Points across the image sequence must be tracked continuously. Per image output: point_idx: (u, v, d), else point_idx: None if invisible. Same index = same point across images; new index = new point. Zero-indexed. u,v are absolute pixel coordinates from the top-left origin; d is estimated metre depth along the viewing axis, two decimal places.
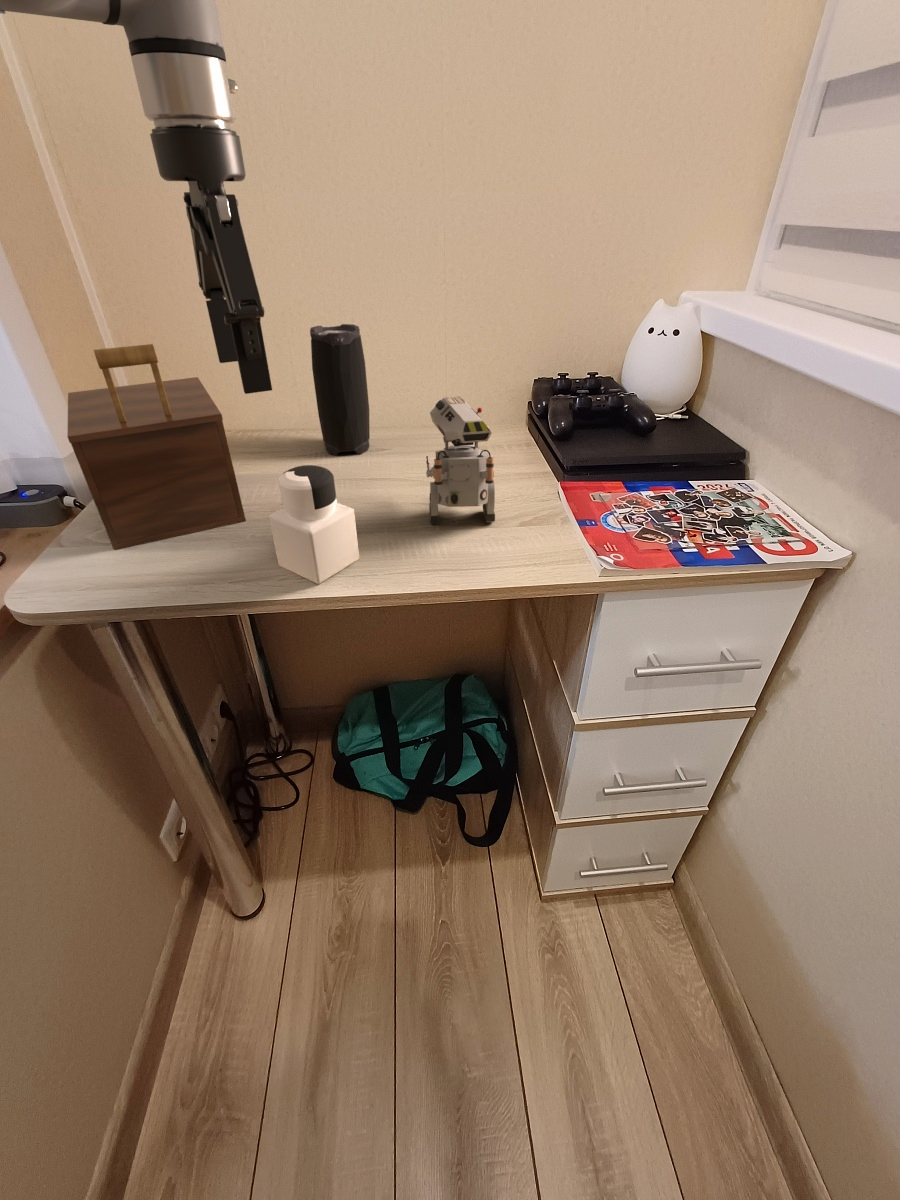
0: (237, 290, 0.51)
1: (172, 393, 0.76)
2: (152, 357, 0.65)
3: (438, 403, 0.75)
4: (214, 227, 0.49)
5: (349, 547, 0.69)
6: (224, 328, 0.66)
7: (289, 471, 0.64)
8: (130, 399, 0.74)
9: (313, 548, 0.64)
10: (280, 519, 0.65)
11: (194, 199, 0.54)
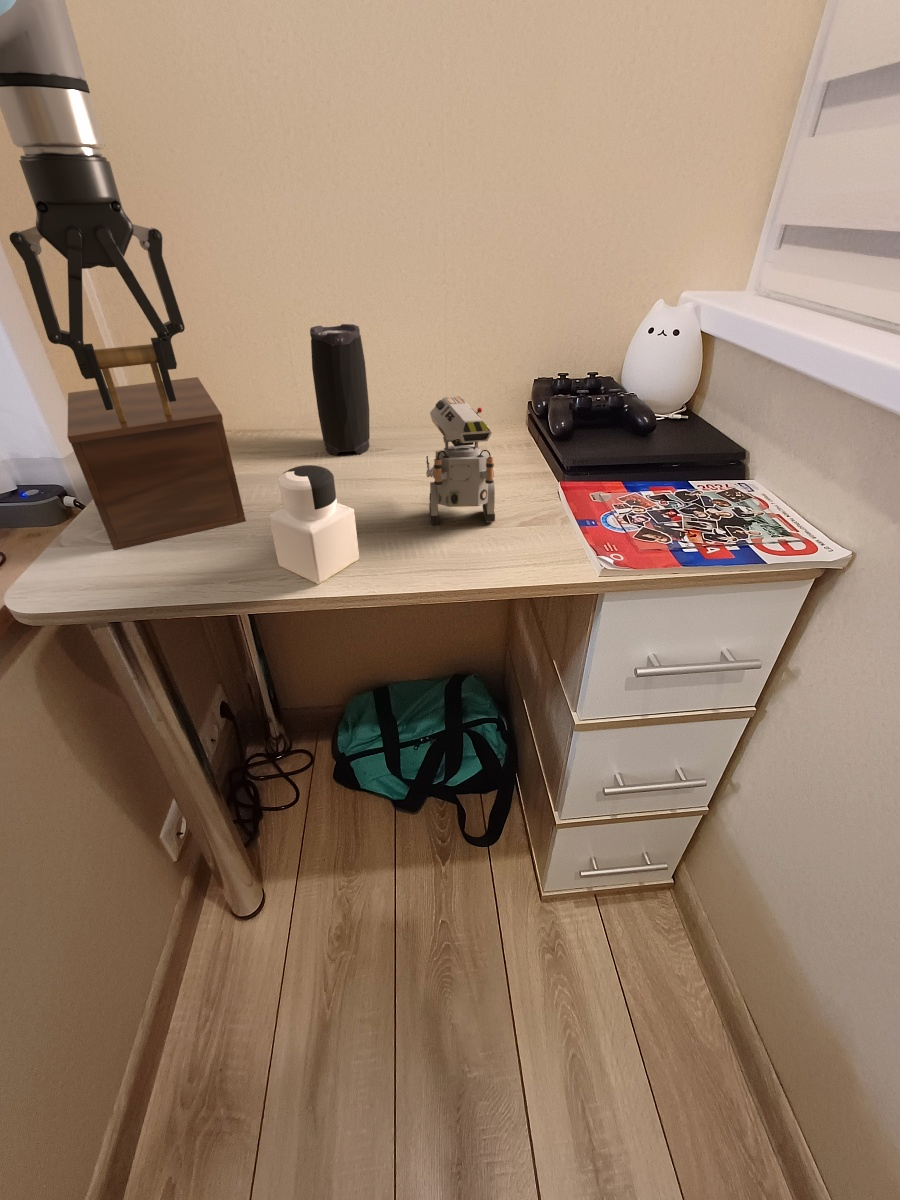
0: None
1: None
2: (152, 357, 0.65)
3: (438, 403, 0.75)
4: (162, 257, 0.60)
5: (349, 547, 0.69)
6: (101, 373, 0.64)
7: (289, 471, 0.64)
8: (130, 399, 0.74)
9: (313, 548, 0.64)
10: (280, 519, 0.65)
11: (71, 221, 0.55)
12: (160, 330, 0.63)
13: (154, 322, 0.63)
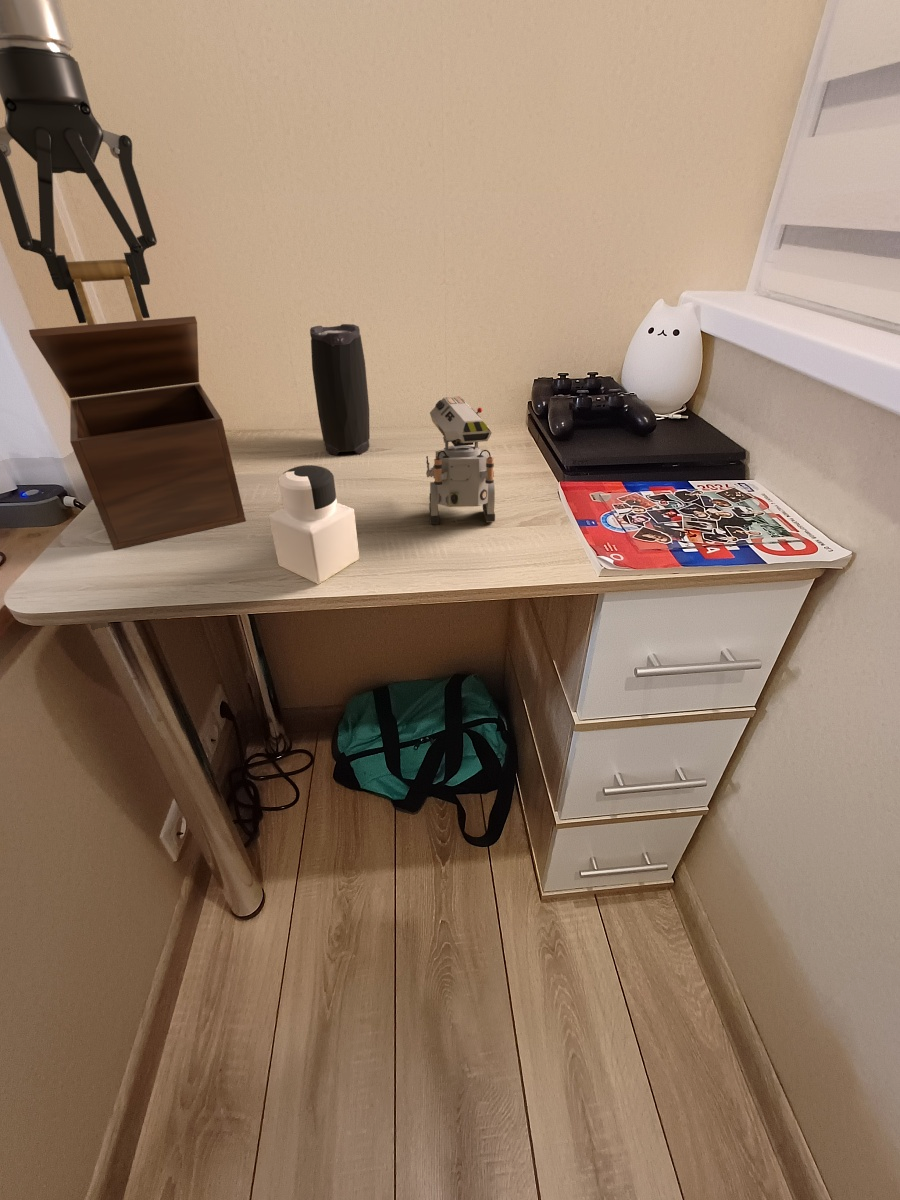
0: None
1: None
2: (123, 266, 0.65)
3: (438, 403, 0.75)
4: (132, 165, 0.61)
5: (349, 547, 0.69)
6: (74, 285, 0.64)
7: (289, 471, 0.64)
8: None
9: (313, 548, 0.64)
10: (280, 519, 0.65)
11: (40, 122, 0.56)
12: (132, 242, 0.64)
13: (126, 233, 0.63)
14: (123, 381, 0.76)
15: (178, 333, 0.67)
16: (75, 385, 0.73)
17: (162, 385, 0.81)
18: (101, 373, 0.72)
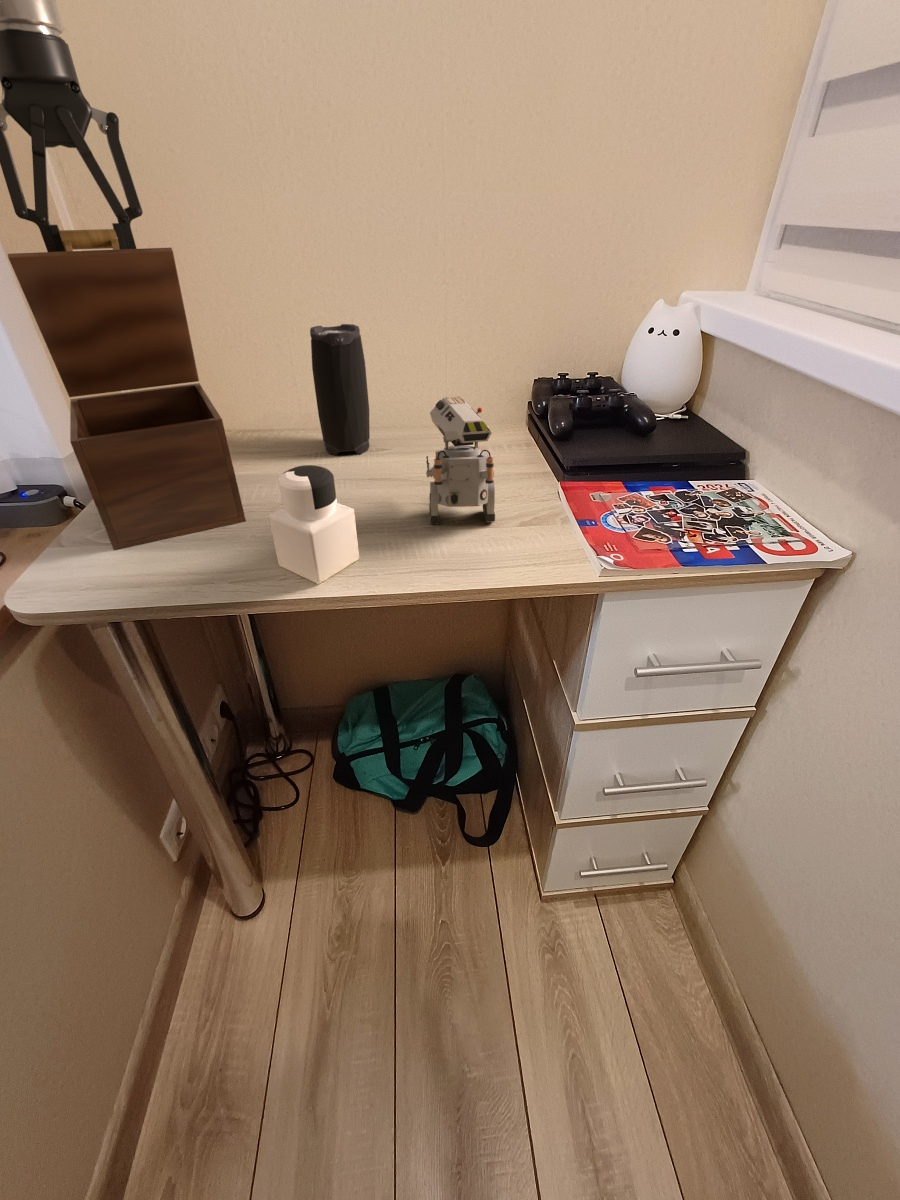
0: None
1: None
2: (110, 230, 0.70)
3: (438, 403, 0.75)
4: (119, 140, 0.66)
5: (349, 547, 0.69)
6: None
7: (289, 471, 0.64)
8: None
9: (313, 548, 0.64)
10: (280, 519, 0.65)
11: (34, 99, 0.61)
12: (119, 213, 0.69)
13: (113, 204, 0.69)
14: (119, 366, 0.76)
15: (157, 271, 0.69)
16: (70, 369, 0.74)
17: (161, 383, 0.81)
18: (93, 347, 0.73)
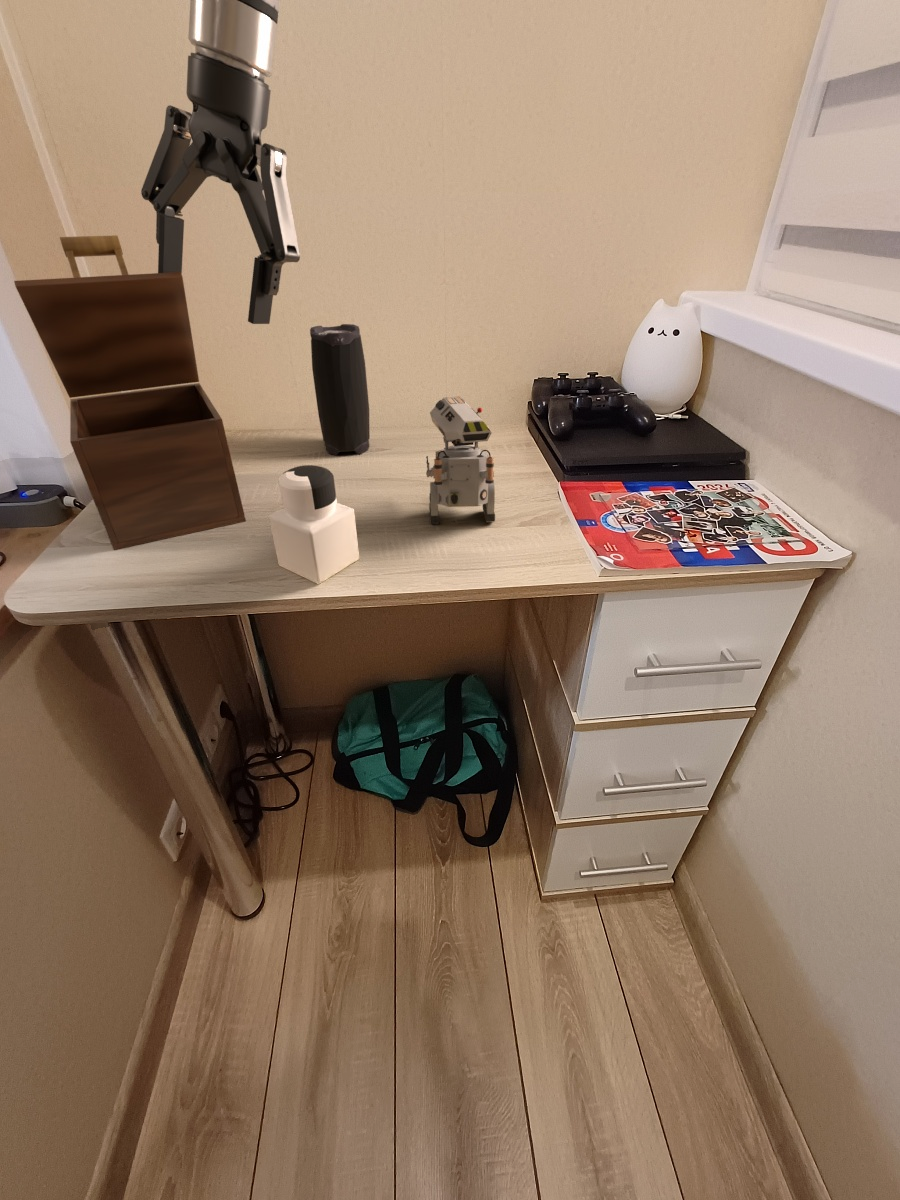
0: (284, 235, 0.59)
1: None
2: (114, 239, 0.67)
3: (438, 403, 0.75)
4: (270, 174, 0.56)
5: (349, 547, 0.69)
6: (173, 246, 0.66)
7: (289, 471, 0.64)
8: None
9: (313, 548, 0.64)
10: (280, 519, 0.65)
11: (209, 127, 0.57)
12: (264, 249, 0.60)
13: (259, 240, 0.60)
14: (120, 372, 0.76)
15: (165, 294, 0.68)
16: (72, 375, 0.73)
17: (161, 384, 0.81)
18: (96, 357, 0.72)
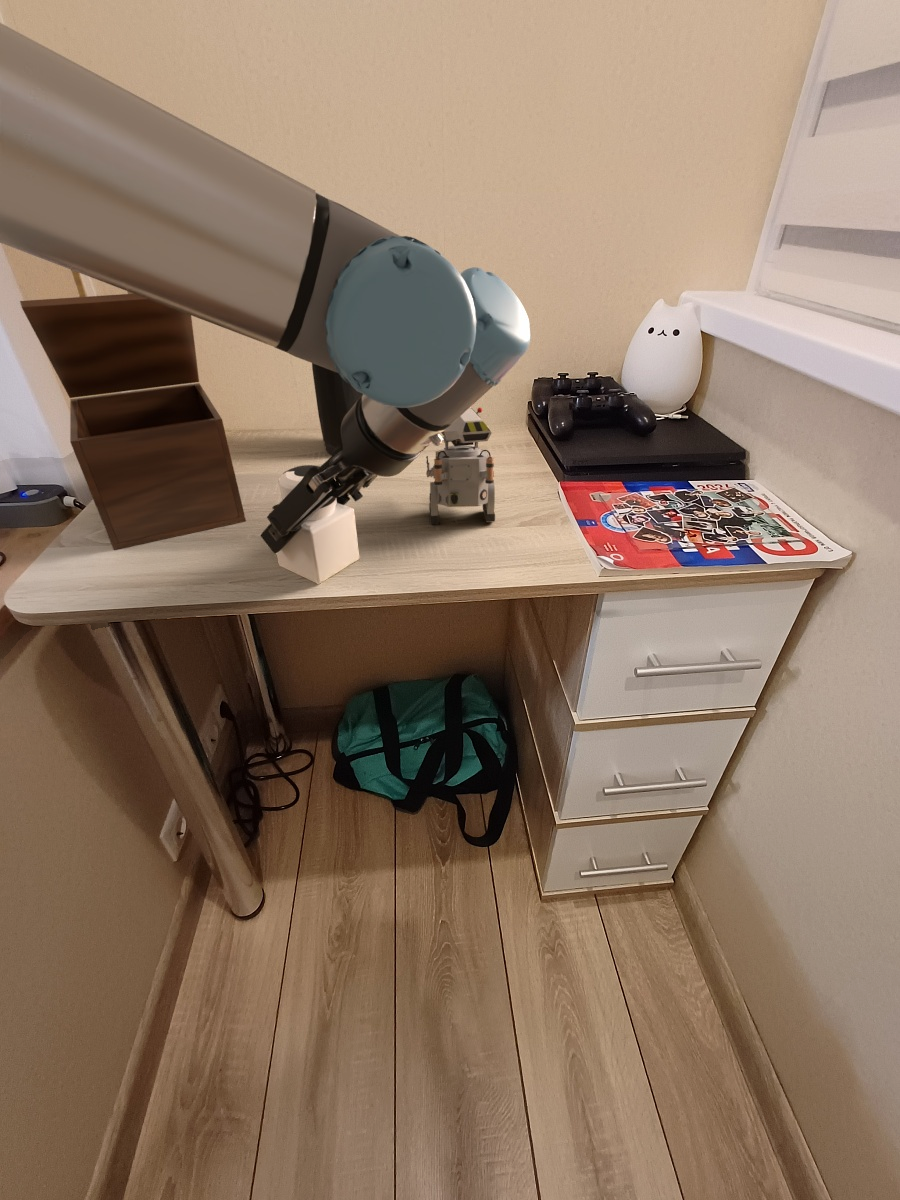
0: (280, 512, 0.58)
1: None
2: None
3: None
4: (301, 481, 0.55)
5: (349, 547, 0.69)
6: None
7: (289, 471, 0.64)
8: None
9: (313, 548, 0.64)
10: None
11: None
12: None
13: None
14: (121, 376, 0.76)
15: (171, 310, 0.67)
16: (74, 379, 0.73)
17: (161, 385, 0.81)
18: (98, 364, 0.72)
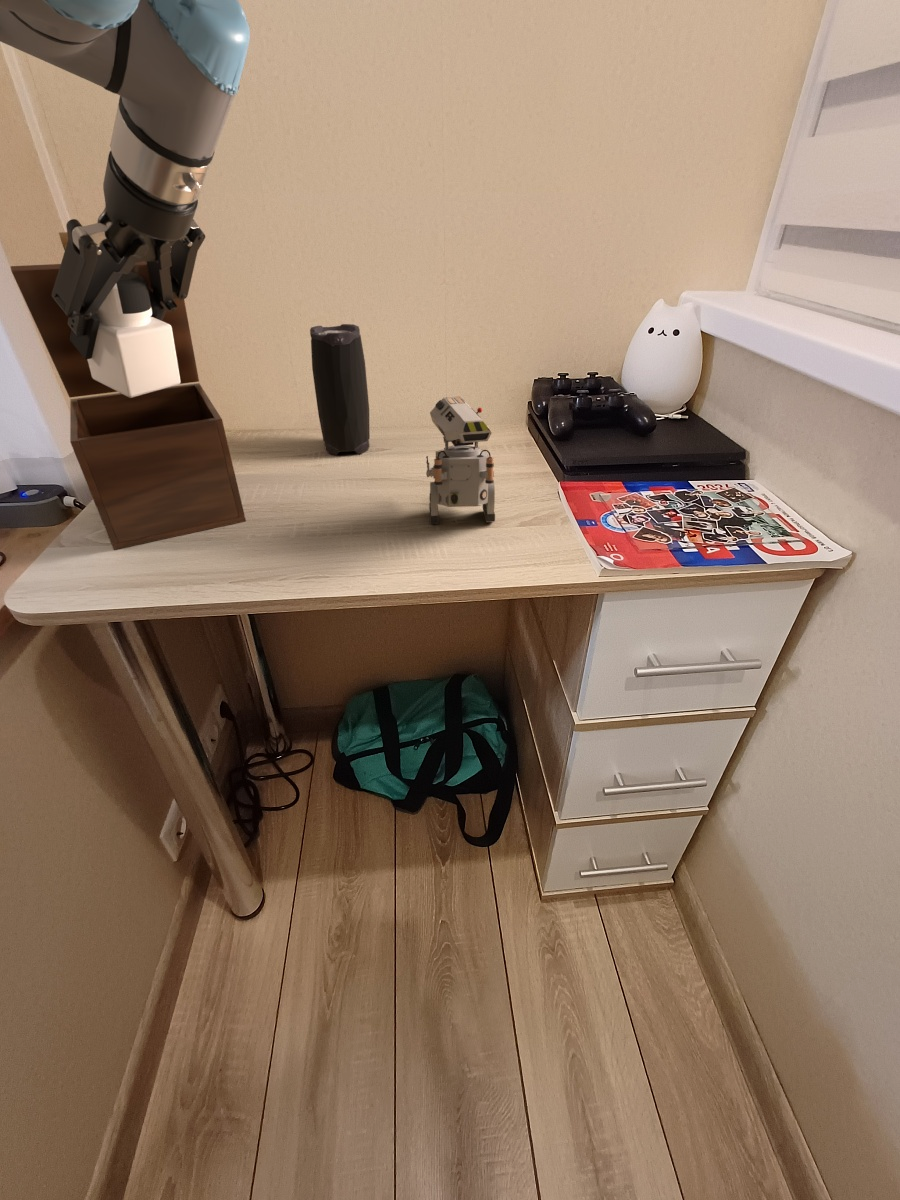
0: (61, 287, 0.57)
1: None
2: None
3: (438, 403, 0.75)
4: (68, 241, 0.54)
5: (167, 366, 0.69)
6: None
7: None
8: None
9: (121, 354, 0.63)
10: None
11: None
12: None
13: None
14: None
15: None
16: (71, 372, 0.73)
17: None
18: None
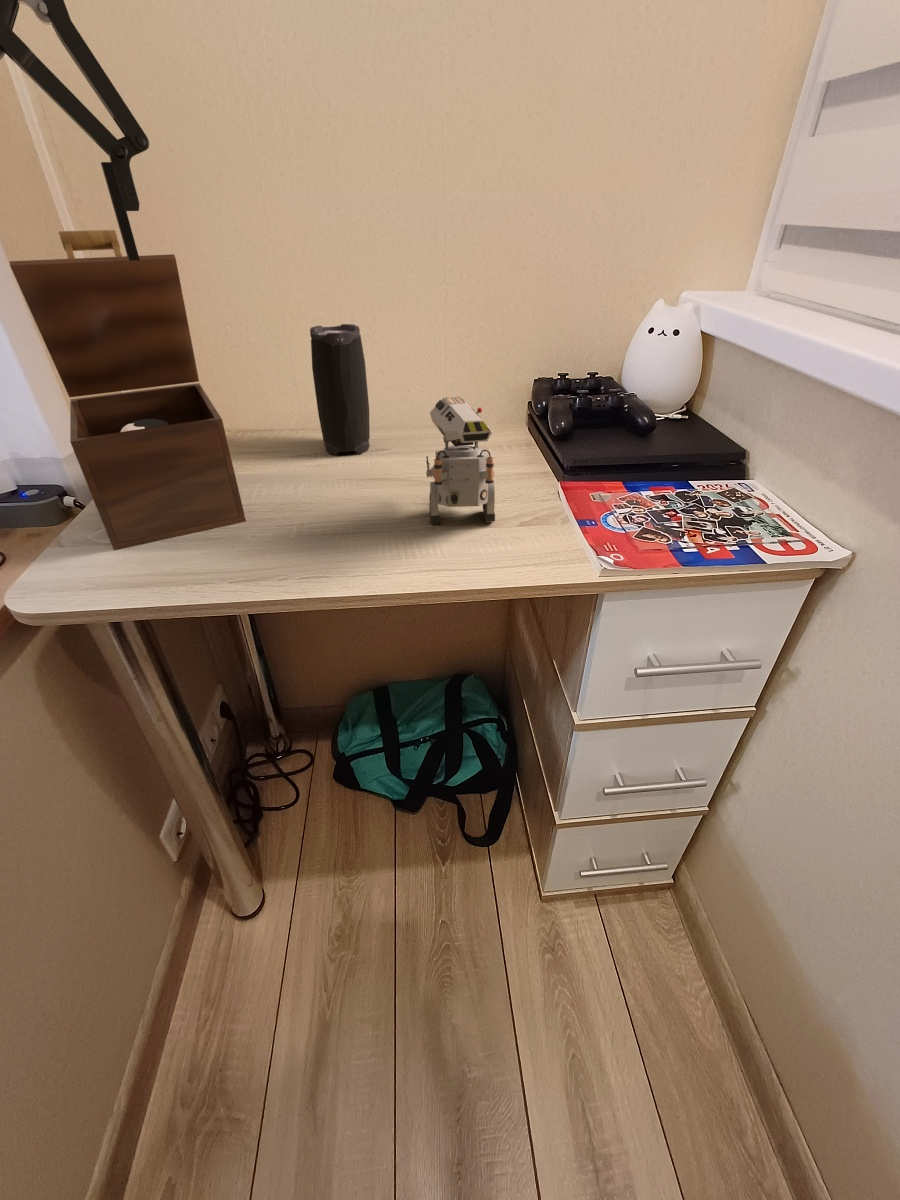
0: None
1: None
2: (111, 232, 0.69)
3: (438, 403, 0.75)
4: None
5: None
6: (113, 206, 0.46)
7: (130, 423, 0.74)
8: None
9: None
10: None
11: None
12: None
13: None
14: (119, 368, 0.76)
15: (160, 278, 0.68)
16: (71, 371, 0.73)
17: (161, 383, 0.81)
18: (94, 350, 0.72)
